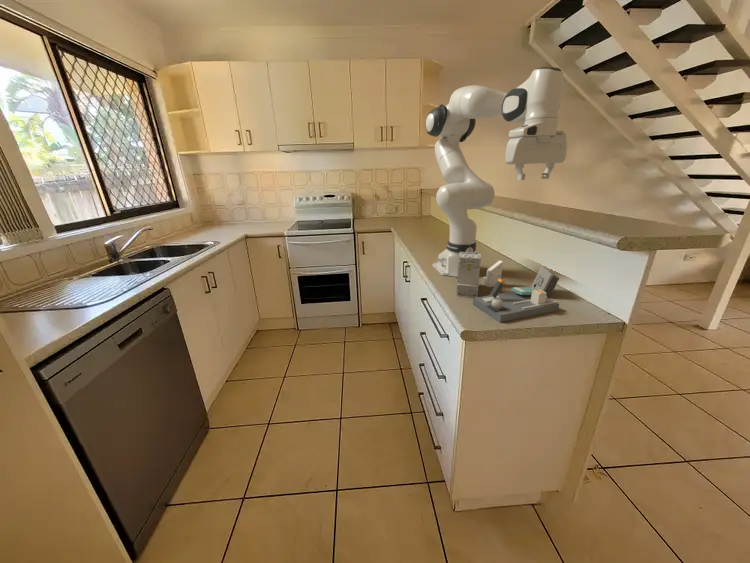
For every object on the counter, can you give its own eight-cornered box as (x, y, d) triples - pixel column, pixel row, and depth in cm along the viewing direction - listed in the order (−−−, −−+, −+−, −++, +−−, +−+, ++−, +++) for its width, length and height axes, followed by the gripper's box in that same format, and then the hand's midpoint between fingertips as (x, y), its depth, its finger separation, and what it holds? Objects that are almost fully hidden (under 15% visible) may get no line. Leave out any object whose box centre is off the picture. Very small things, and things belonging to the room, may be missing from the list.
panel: (472, 304, 108) (473, 296, 107) (526, 295, 114) (527, 286, 113) (499, 322, 95) (500, 313, 94) (557, 310, 102) (559, 301, 101)
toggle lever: (489, 294, 105) (498, 278, 104) (492, 296, 106) (502, 280, 105) (492, 296, 104) (502, 279, 103) (496, 298, 104) (505, 281, 103)
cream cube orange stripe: (530, 301, 103) (532, 290, 101) (537, 300, 104) (539, 288, 102) (537, 305, 100) (539, 293, 99) (544, 303, 101) (546, 291, 100)
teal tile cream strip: (521, 295, 105) (522, 291, 105) (511, 290, 109) (512, 287, 109) (539, 294, 108) (540, 291, 107) (529, 289, 112) (530, 287, 111)
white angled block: (509, 277, 125) (502, 261, 121) (490, 292, 124) (483, 276, 120) (503, 275, 128) (496, 259, 124) (484, 289, 127) (477, 273, 123)
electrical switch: (530, 288, 120) (536, 265, 117) (544, 289, 120) (550, 267, 117) (539, 298, 112) (546, 274, 108) (554, 299, 111) (561, 275, 108)
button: (489, 306, 100) (490, 299, 99) (497, 304, 101) (498, 297, 100) (495, 310, 97) (496, 303, 96) (504, 308, 98) (505, 301, 97)
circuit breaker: (476, 284, 126) (480, 248, 121) (477, 297, 113) (480, 258, 108) (457, 282, 128) (460, 247, 123) (456, 296, 115) (458, 257, 110)
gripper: (558, 131, 98) (551, 177, 102) (504, 131, 92) (499, 180, 97) (575, 129, 92) (567, 178, 97) (519, 129, 86) (513, 181, 91)
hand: (533, 179), depth 97 cm, fingers open, 8 cm apart
